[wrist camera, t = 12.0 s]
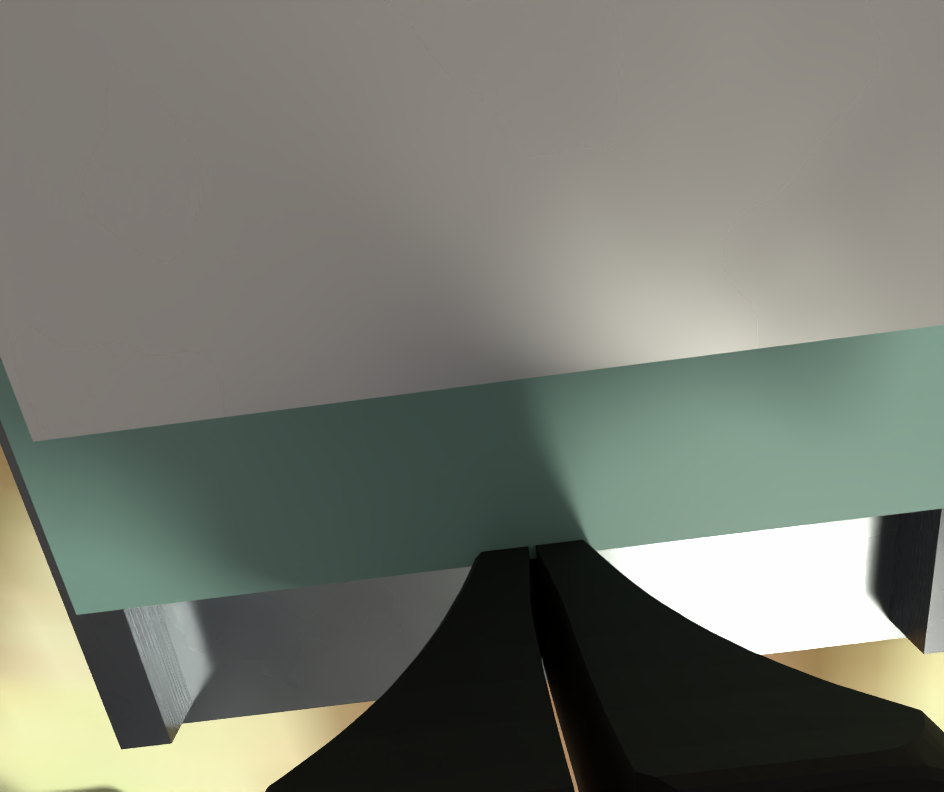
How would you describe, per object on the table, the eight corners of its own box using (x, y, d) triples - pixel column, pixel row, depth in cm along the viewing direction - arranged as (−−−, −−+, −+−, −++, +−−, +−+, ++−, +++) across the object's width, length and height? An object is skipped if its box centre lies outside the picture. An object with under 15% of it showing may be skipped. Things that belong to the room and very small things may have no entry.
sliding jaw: (902, 446, 11) (999, 501, 9) (143, 542, 11) (76, 615, 9) (923, 219, 10) (1042, 223, 8) (73, 331, 10) (-22, 363, 8)
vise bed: (933, 600, 14) (1080, 723, 10) (143, 694, 14) (49, 844, 11) (1049, -338, 9) (1396, -652, 6) (-170, -158, 9) (-517, -356, 6)
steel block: (679, 250, 10) (958, 322, 5) (266, 304, 10) (32, 442, 5) (674, -28, 9) (1055, -413, 3) (204, 38, 9) (-223, -221, 3)
